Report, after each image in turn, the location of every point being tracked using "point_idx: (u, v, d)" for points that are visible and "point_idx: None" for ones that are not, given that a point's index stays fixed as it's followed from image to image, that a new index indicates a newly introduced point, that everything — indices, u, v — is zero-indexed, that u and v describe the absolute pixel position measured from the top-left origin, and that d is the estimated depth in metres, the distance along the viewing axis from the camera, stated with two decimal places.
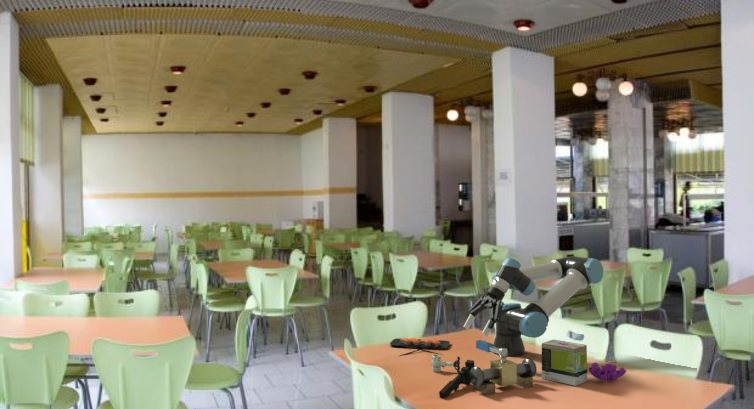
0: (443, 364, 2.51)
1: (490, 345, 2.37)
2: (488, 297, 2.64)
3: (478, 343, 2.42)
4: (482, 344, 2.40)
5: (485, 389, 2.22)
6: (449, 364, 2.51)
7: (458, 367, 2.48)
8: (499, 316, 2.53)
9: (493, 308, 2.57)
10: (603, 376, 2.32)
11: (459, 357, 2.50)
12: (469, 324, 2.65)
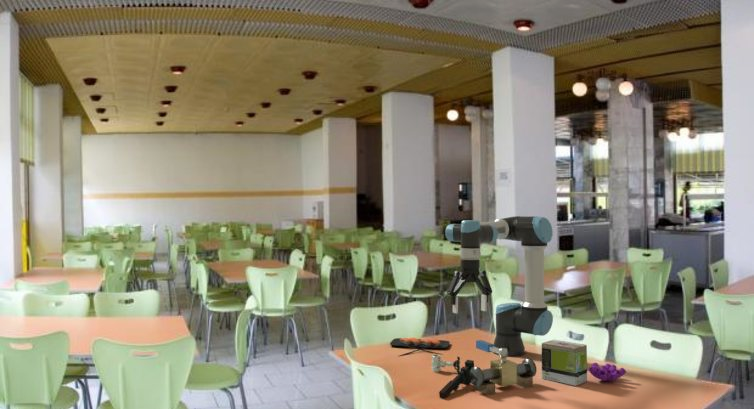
0: (443, 364, 2.51)
1: (490, 345, 2.37)
2: (467, 271, 2.36)
3: (478, 343, 2.42)
4: (482, 344, 2.40)
5: (485, 389, 2.22)
6: (449, 364, 2.51)
7: (458, 367, 2.48)
8: None
9: None
10: (603, 376, 2.32)
11: (459, 357, 2.50)
12: None
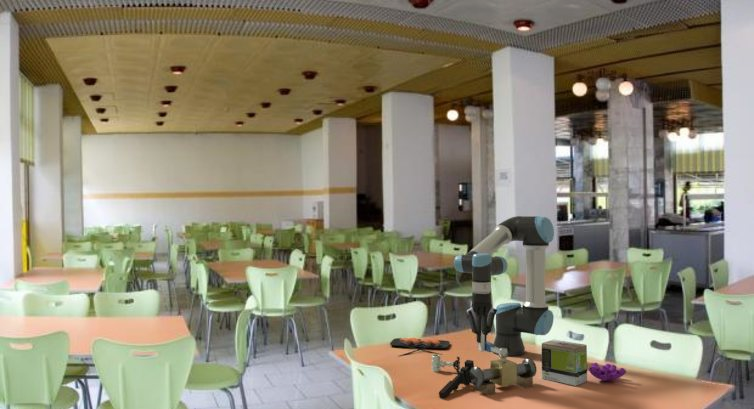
0: (443, 364, 2.51)
1: (491, 345, 2.37)
2: (478, 305, 2.38)
3: None
4: None
5: (485, 389, 2.22)
6: (449, 364, 2.51)
7: (457, 367, 2.48)
8: None
9: None
10: (603, 376, 2.32)
11: (458, 357, 2.51)
12: None
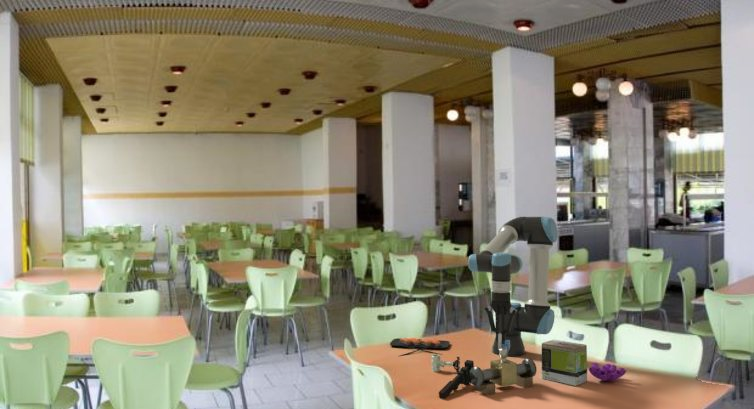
0: (442, 364, 2.51)
1: (504, 345, 2.37)
2: (496, 303, 2.41)
3: None
4: None
5: (485, 389, 2.22)
6: (448, 364, 2.51)
7: (457, 367, 2.48)
8: (510, 326, 2.40)
9: (505, 317, 2.40)
10: (603, 376, 2.32)
11: (458, 357, 2.51)
12: None
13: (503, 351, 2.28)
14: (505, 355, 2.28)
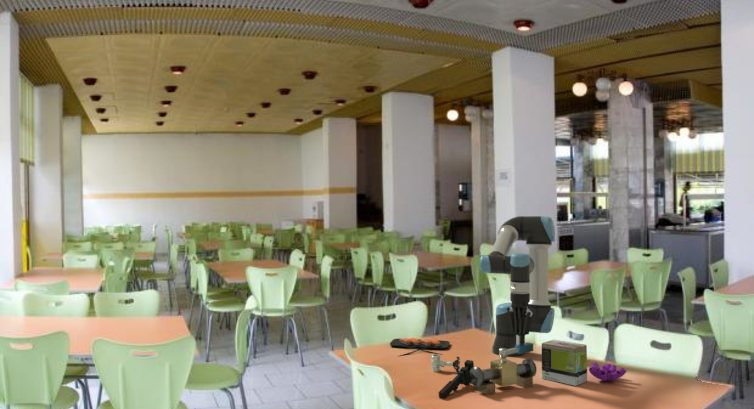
0: (442, 364, 2.51)
1: (517, 346, 2.34)
2: (515, 304, 2.39)
3: None
4: None
5: (485, 389, 2.22)
6: (448, 364, 2.51)
7: (457, 367, 2.48)
8: (528, 329, 2.35)
9: (522, 319, 2.37)
10: (603, 376, 2.32)
11: (458, 357, 2.51)
12: None
13: (501, 351, 2.29)
14: (503, 355, 2.28)
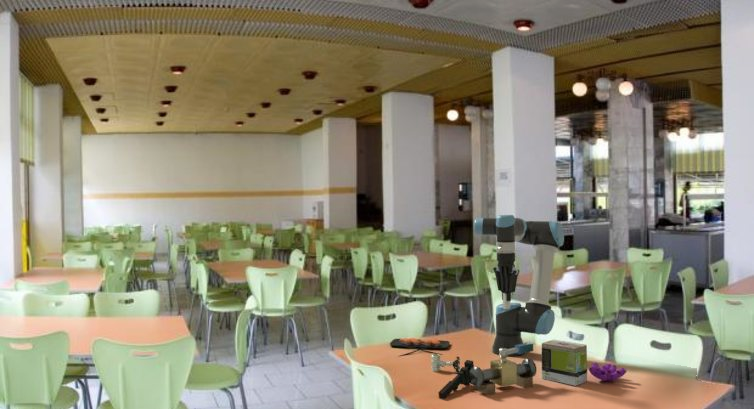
0: (442, 363, 2.52)
1: (517, 346, 2.34)
2: (501, 263, 2.49)
3: None
4: None
5: (485, 389, 2.22)
6: (448, 364, 2.51)
7: (457, 367, 2.48)
8: (514, 287, 2.45)
9: (508, 277, 2.46)
10: (603, 376, 2.32)
11: (458, 357, 2.51)
12: None
13: (501, 351, 2.29)
14: (503, 355, 2.28)
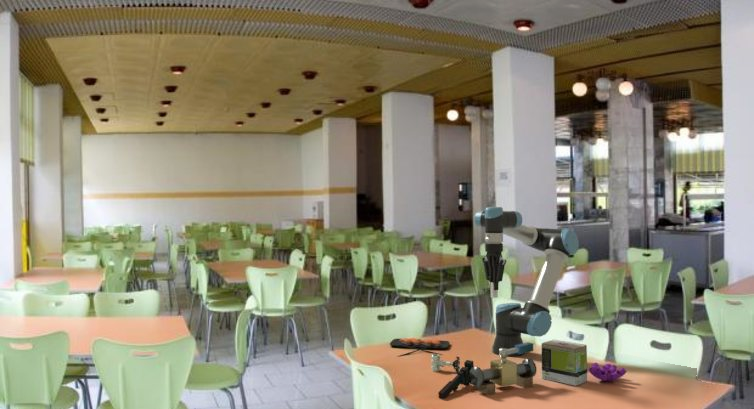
0: (442, 363, 2.52)
1: (517, 346, 2.34)
2: (489, 254, 2.58)
3: None
4: None
5: (485, 389, 2.22)
6: (448, 364, 2.52)
7: (456, 367, 2.48)
8: (501, 276, 2.54)
9: (496, 267, 2.55)
10: (603, 376, 2.32)
11: (458, 357, 2.51)
12: None
13: (501, 351, 2.29)
14: (503, 355, 2.28)
